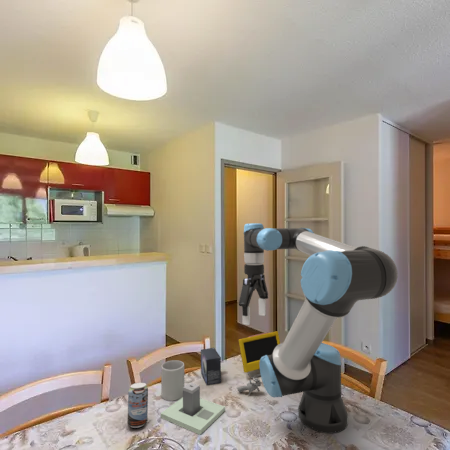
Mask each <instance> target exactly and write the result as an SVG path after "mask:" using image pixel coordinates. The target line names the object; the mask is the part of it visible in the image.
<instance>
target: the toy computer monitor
mask: <svg viewBox="0 0 450 450" xmlns="http://www.w3.org/2000/svg"><path fill="white" fill-rule="evenodd" d="M279 344H281V340H280V336H279V331H278V330H277V331H271V332H267V331H266V332H263V333H258V334H255V335H254V334H253V335H249V336H248V337H243V338H240V339H238V345H239V350H240V356H241V361H242V362H241V363H242V364H241V365H242V369H243V373H245V374H248V376H249V377H250V378H251V379H253V378H258V377H261V374H260V359H261V357H263V356H265V355H267V356H268V355H271V354H272V353H273V351H274V349H275V347H276V346H277V345H279Z"/></svg>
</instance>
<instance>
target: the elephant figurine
mask: <svg viewBox="0 0 450 450" xmlns="http://www.w3.org/2000/svg"><path fill="white" fill-rule="evenodd" d="M252 379H253V381H252V380H251V379H249V382H248V383H246V385H243V386H237V387H236V389H237V392H238V393H242V392H244V391H248V396H247V397H249V396H250V394H251V393H253V392H255V391H256V390H257V391H260V388H259V387H260V386H261V385H262V381H261V380H260V379H259V378H258V377H255V378H252Z"/></svg>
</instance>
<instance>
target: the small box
mask: <svg viewBox="0 0 450 450" xmlns="http://www.w3.org/2000/svg"><path fill="white" fill-rule="evenodd" d="M221 363H222V357H221V356H220V354H219V353H218V351H217V349H216V348H215V347H211V348H210V347H209V348H204V349H203V348H202V349H200V374H201V376H202V379H203V380H204V383H205V384H206V386H212V385H213V386H214V385H218V384H222V364H221Z"/></svg>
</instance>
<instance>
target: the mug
mask: <svg viewBox="0 0 450 450" xmlns="http://www.w3.org/2000/svg"><path fill="white" fill-rule="evenodd" d="M160 374H161V375H160V377H161V394H160V396H161V398H162V400H164V401H167V402H173V401H178V400H180V399H181V398H182V397H183V387H184V386H185V363H184V362H183V361H181V360H175V359H174V360H173V359H172V360H167V361H165V362H163V363H162V364H161V372H160Z"/></svg>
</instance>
